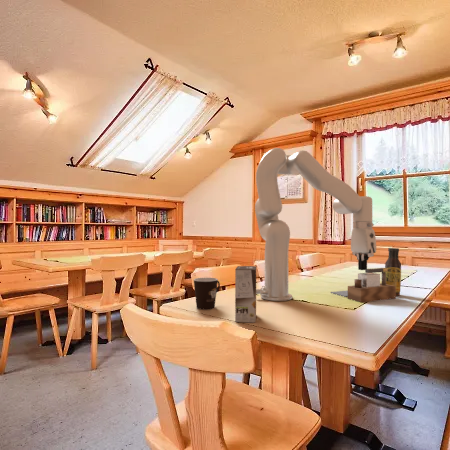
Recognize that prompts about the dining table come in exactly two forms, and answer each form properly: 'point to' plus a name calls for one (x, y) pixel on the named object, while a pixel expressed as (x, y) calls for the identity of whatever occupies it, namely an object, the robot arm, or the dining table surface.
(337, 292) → the felt pad
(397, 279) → the sauce bottle
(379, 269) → the lever
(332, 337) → the dining table surface
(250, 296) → the coffee box
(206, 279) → the coffee mug
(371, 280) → the lever cap
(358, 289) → the body
